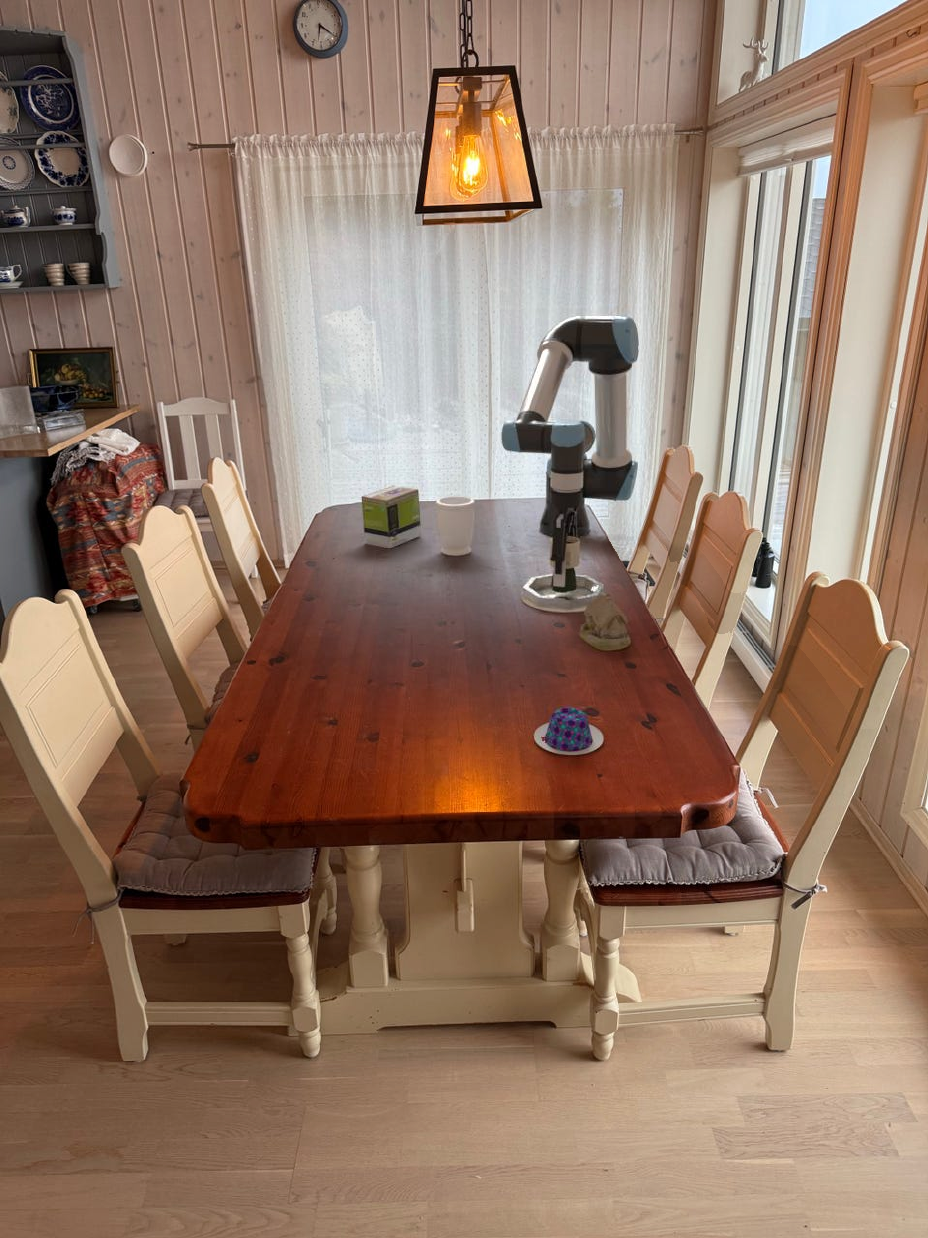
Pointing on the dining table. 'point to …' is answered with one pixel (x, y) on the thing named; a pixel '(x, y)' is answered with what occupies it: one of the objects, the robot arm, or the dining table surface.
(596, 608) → the ceramic model
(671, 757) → the dining table surface
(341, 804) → the dining table surface
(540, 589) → the octagonal bowl
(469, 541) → the jar
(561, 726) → the pudding
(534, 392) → the robot arm
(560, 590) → the character mug
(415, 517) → the tea box
